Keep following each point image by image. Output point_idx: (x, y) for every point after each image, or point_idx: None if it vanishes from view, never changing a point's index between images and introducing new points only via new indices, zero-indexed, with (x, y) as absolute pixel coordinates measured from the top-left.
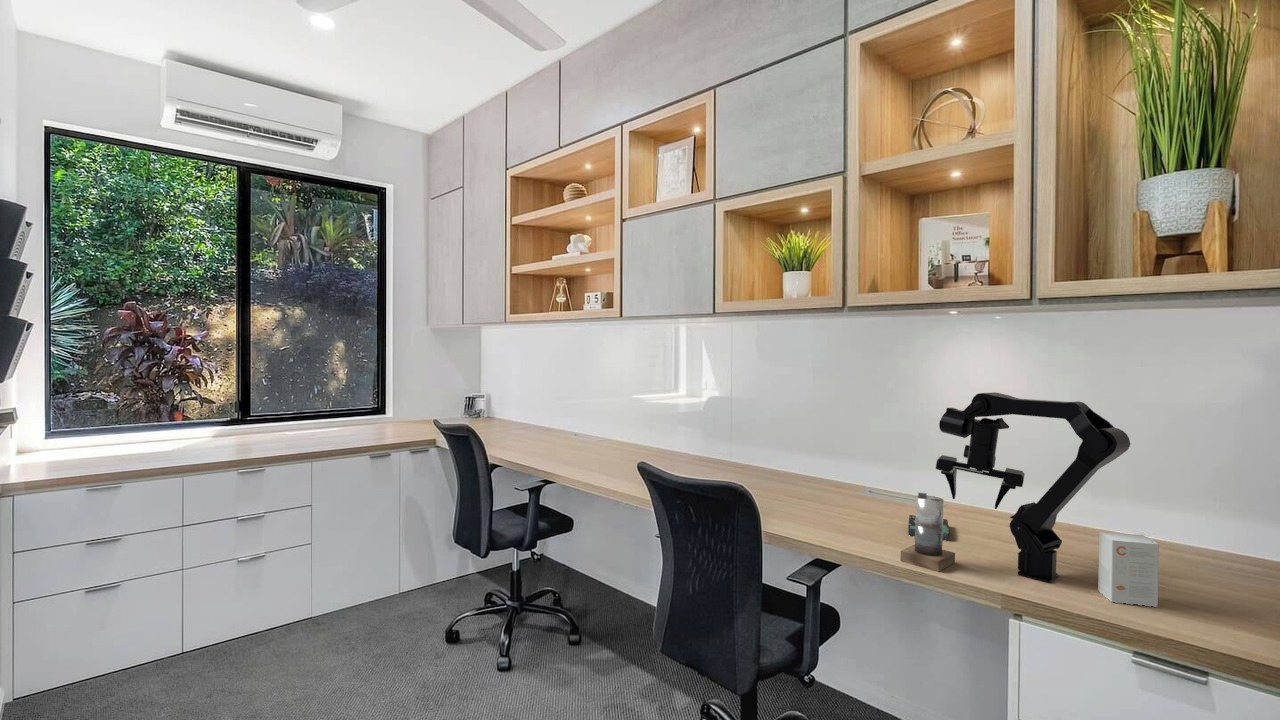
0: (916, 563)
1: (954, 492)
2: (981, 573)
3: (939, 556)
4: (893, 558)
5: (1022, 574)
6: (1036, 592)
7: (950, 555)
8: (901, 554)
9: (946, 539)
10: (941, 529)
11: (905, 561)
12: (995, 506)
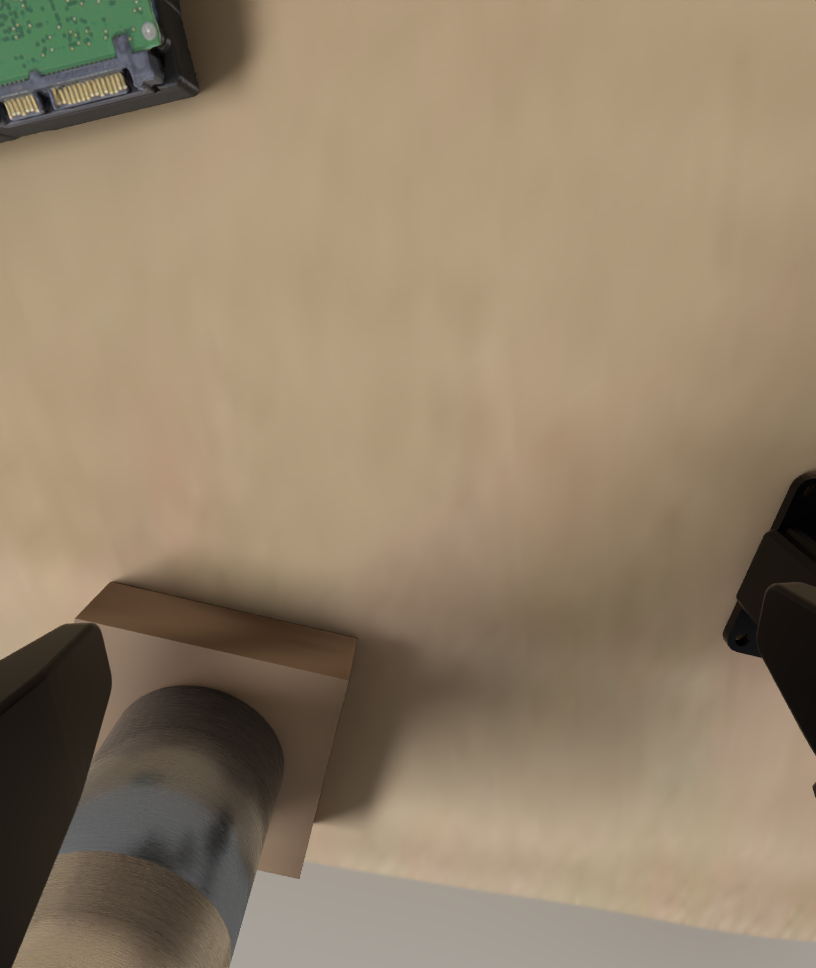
0: None
1: (55, 858)
2: (519, 723)
3: (282, 804)
4: None
5: (752, 654)
6: (789, 835)
7: (333, 739)
8: None
9: (172, 99)
10: (232, 955)
11: None
12: (788, 695)
